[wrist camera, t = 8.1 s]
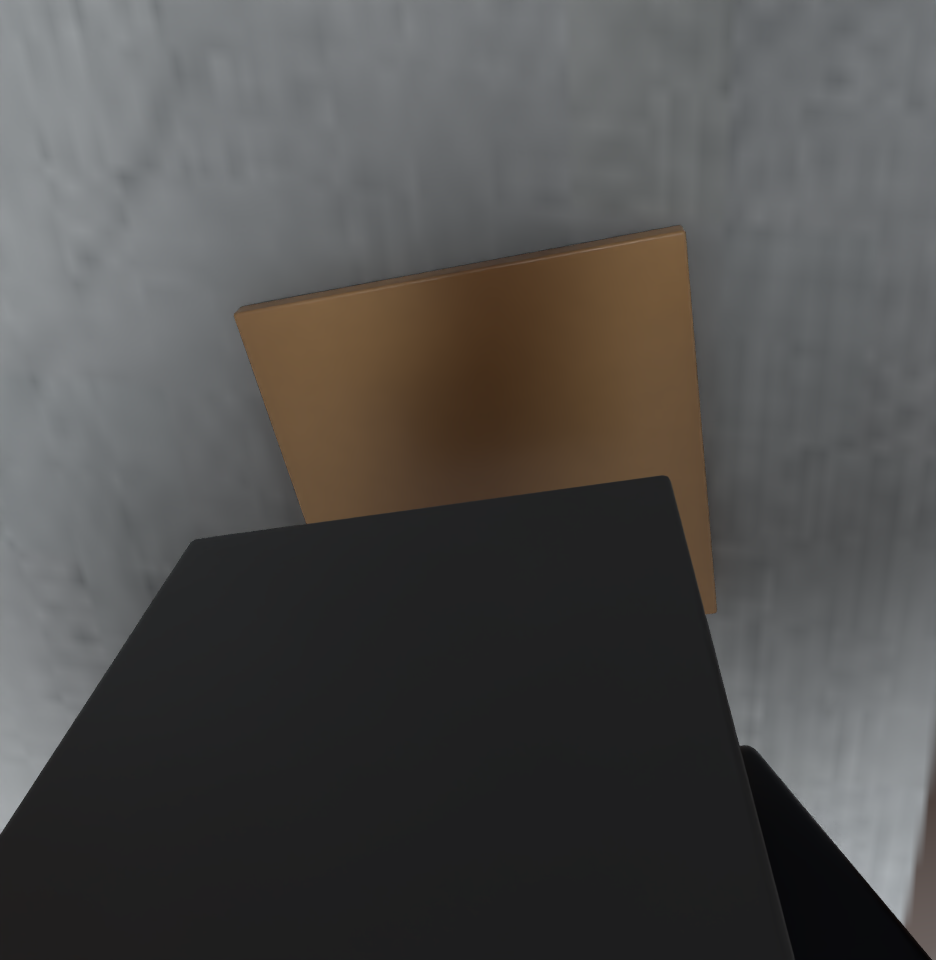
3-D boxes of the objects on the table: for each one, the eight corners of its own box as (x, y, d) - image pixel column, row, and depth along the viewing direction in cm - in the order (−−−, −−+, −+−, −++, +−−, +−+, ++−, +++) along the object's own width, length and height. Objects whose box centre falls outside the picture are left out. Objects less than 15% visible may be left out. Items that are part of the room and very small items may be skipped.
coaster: (682, 223, 13) (686, 230, 12) (713, 600, 16) (717, 614, 15) (239, 306, 14) (231, 314, 13) (354, 641, 17) (350, 654, 17)
